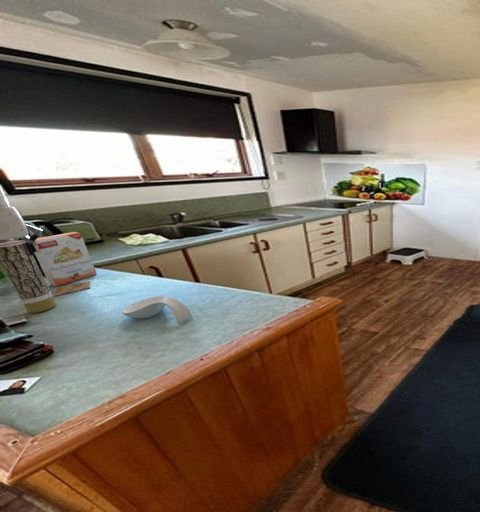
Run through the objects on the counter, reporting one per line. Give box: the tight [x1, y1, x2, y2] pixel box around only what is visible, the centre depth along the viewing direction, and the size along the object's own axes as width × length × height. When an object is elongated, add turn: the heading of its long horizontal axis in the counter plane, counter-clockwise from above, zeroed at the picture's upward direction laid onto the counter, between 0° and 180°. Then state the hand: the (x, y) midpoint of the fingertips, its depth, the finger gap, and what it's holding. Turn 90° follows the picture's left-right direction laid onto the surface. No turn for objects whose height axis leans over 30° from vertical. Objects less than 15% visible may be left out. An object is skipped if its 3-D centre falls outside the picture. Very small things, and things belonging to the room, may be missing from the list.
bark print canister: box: [0, 240, 57, 314], centre depth 94 cm, size 7×7×25 cm
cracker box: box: [33, 231, 98, 287], centre depth 120 cm, size 14×6×21 cm, turn 161°
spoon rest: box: [121, 295, 193, 325], centre depth 90 cm, size 24×12×7 cm, turn 73°
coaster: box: [53, 280, 91, 298], centre depth 114 cm, size 10×10×1 cm
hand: (16, 256), depth 91 cm, fingers closed on bark print canister, 6 cm apart
